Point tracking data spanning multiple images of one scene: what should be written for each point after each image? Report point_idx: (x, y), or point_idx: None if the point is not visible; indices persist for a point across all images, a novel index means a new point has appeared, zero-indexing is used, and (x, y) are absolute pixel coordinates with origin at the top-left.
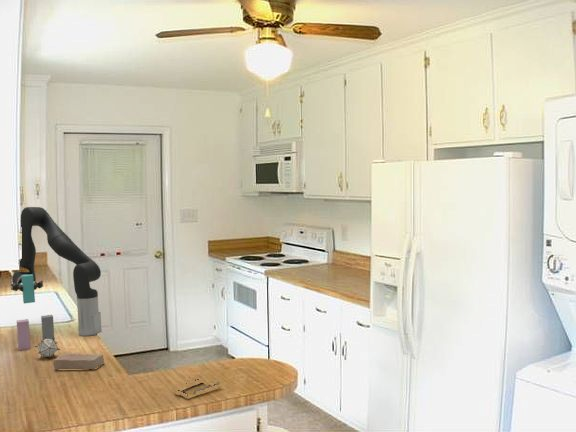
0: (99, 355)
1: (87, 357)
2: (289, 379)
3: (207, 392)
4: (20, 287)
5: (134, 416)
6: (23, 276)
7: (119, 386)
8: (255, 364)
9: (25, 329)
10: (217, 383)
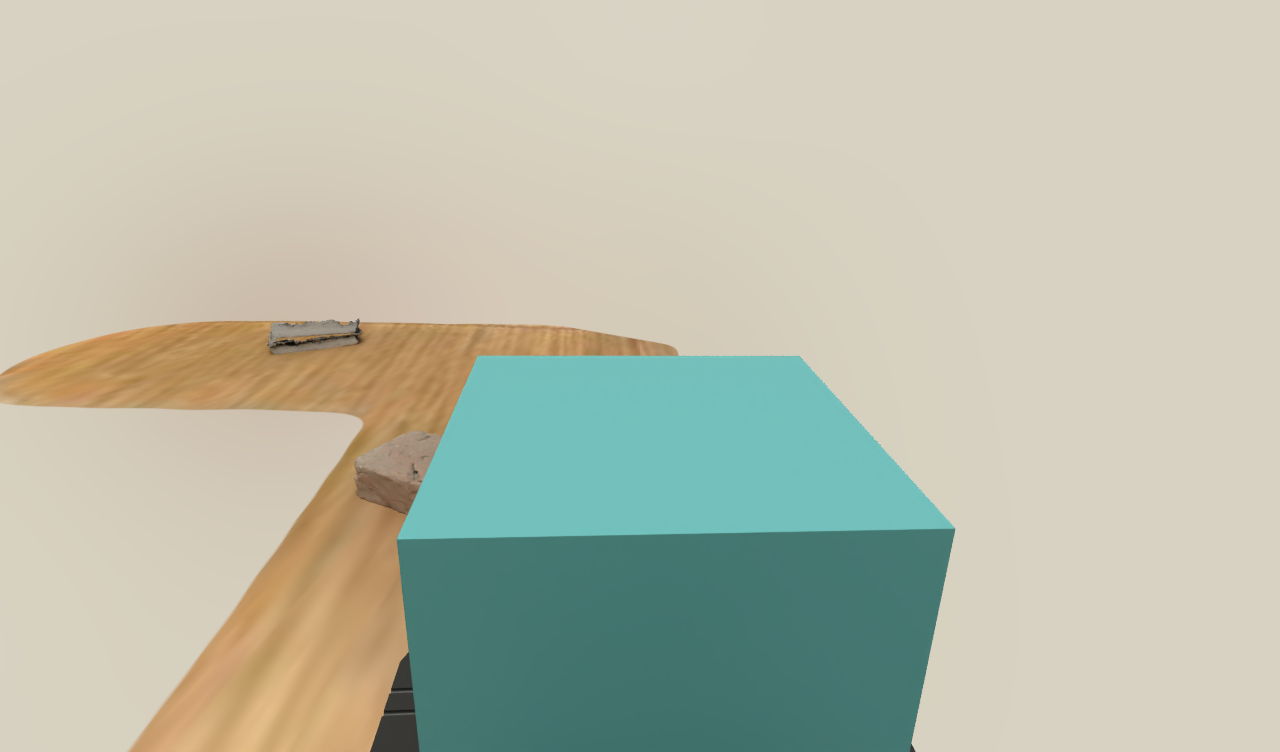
0: (377, 447)
1: (423, 449)
2: (136, 330)
3: (305, 336)
4: None
5: (470, 324)
6: (759, 360)
7: (425, 384)
8: (61, 375)
9: None
10: (278, 325)
